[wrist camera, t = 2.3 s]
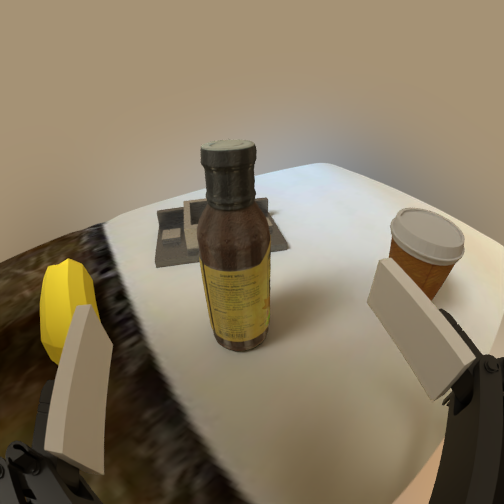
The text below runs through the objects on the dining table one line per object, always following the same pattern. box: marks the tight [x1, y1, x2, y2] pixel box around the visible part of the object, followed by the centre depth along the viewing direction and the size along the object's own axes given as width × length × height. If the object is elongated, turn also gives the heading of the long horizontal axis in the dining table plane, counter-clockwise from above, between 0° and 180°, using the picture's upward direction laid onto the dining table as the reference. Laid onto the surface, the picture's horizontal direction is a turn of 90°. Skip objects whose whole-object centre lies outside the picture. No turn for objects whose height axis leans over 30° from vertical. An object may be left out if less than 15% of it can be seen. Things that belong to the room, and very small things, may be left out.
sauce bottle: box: [197, 140, 271, 351], centre depth 24 cm, size 6×6×20 cm
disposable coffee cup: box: [389, 208, 465, 301], centre depth 29 cm, size 10×10×12 cm
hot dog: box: [40, 259, 101, 365], centre depth 28 cm, size 18×7×8 cm
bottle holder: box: [155, 198, 287, 268], centre depth 45 cm, size 20×12×5 cm, turn 103°
